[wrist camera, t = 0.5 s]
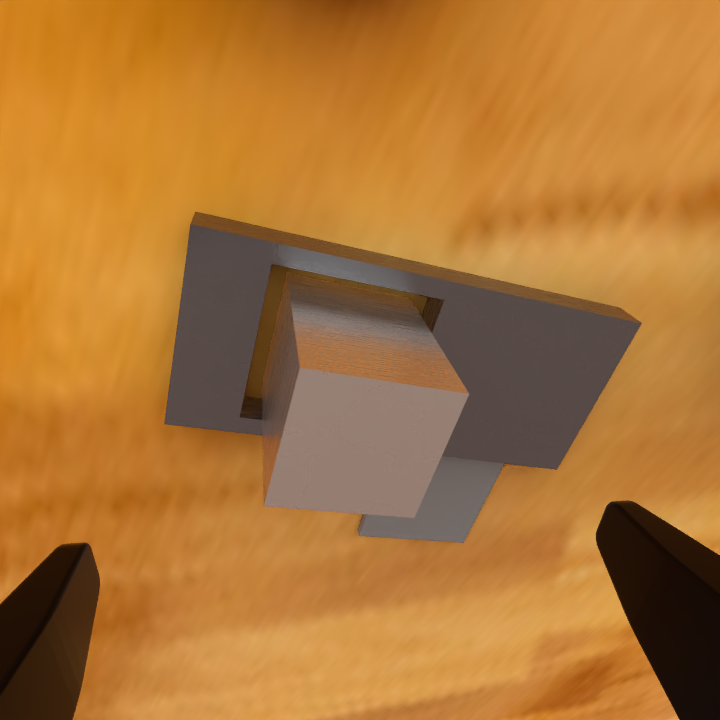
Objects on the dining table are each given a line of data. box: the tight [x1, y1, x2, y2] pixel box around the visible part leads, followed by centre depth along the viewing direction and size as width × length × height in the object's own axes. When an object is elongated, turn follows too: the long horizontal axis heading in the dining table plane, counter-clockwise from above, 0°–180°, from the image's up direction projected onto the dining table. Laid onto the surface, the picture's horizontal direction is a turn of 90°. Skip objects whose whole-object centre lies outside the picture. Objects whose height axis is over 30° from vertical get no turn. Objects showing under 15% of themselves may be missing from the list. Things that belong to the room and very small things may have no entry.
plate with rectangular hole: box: [164, 212, 642, 470], centre depth 22 cm, size 18×8×2 cm, turn 74°
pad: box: [358, 456, 504, 543], centre depth 27 cm, size 6×6×1 cm
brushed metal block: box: [262, 273, 469, 518], centre depth 19 cm, size 5×5×7 cm
